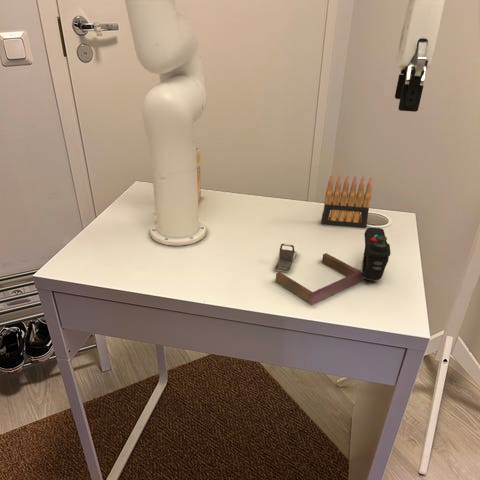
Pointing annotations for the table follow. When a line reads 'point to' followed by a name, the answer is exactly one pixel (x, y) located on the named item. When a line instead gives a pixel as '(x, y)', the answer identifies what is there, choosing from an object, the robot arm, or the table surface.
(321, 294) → the frame
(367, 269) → the controller
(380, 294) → the table surface
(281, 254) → the strap clip
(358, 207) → the ammunition clip
